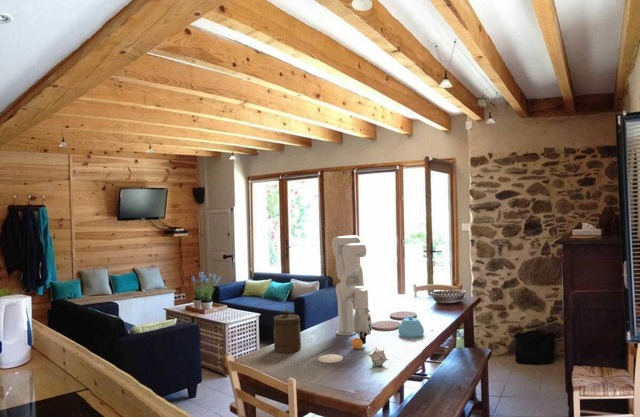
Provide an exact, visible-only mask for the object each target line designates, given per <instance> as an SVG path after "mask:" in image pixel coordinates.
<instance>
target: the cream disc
mask: <svg viewBox="0 0 640 417" xmlns="http://www.w3.org/2000/svg"><path fill="white" fill-rule="evenodd" d="M343 359H344V358H343V356H342V355H339V354H331V353H330V354H324V355H323V354H322V355H321V356H318V358H317V361H319V362H321V363H325V362H326V363H325V364H332V363H333V362H334V363H338V362H341V361H343Z"/></svg>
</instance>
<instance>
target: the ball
mask: <svg viewBox="0 0 640 417" xmlns="http://www.w3.org/2000/svg"><path fill="white" fill-rule="evenodd" d="M363 345H364V344H363V342H362V340H361V339H360V337H355V338H353V339H352V341H351V346H352V347H353V348H354V349H356V350H359V349H361V348H362V347H363Z"/></svg>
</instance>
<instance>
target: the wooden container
mask: <svg viewBox="0 0 640 417" xmlns="http://www.w3.org/2000/svg"><path fill="white" fill-rule="evenodd" d="M300 321H301V320H300V316H299V314H294V313H293V314H292V313H290V310H289V309H284V310H283V314H279V315H275V316H274V317H273V344H274V351H275V352H276V353H280V354H291V353H297V352H299V351H301V349H302V338H301V335H302V334H301V323H300Z"/></svg>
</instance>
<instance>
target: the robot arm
mask: <svg viewBox="0 0 640 417" xmlns="http://www.w3.org/2000/svg"><path fill="white" fill-rule="evenodd" d="M331 249H332V251H333V255H334V257H335V265H336V266H335V268H336V276H337V278H338V280H340V282H339V283H336V285H335V293H336V298H337V299H336V300H337V317H338V323H337V324H338V330H336V331H335V332H336V334H337V335H339V336H346V337H347V336H353V335H355V334H357V335H358V338H360V339H361V340H362V342H363V345H366V344H367V341H366V340H367V336H369V335H371V334H372V331H373V323H372V322H373V321H372V317H371V313H370V312H371V310H370V309H369V293H368V292H369V291H368V289H367V288H366V287H365V286H364V284H365V283H364V274H363V269H362V265H361V264H360V262H359V258H365V257H366V256H367V247H366V245H365V243H364V241H363V240H362V238H361V237H360V236H358V235H343V236H342V235H340V236H334V237H333V239H332V240H331ZM347 280H351V281H347ZM352 280H354V281H352ZM352 301H354V304H353V302H352Z"/></svg>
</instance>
